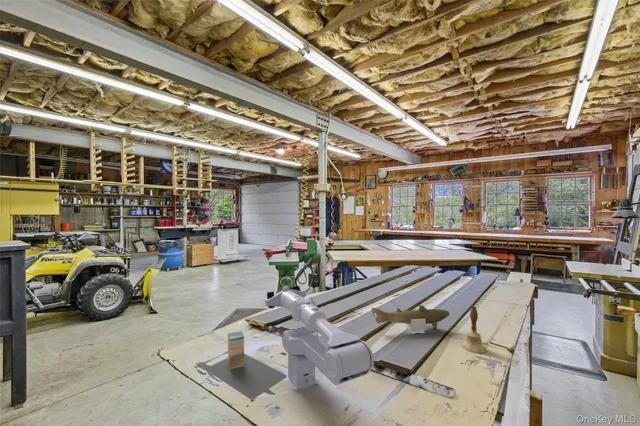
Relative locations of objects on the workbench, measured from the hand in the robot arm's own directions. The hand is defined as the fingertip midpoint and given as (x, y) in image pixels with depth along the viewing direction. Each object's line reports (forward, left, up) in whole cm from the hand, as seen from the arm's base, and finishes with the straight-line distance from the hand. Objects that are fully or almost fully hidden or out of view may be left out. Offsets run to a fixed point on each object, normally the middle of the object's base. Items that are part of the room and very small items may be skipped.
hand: (277, 292), depth 107 cm
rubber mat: (-11, +14, -21) cm, 28 cm away
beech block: (-5, +16, -21) cm, 27 cm away
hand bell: (-30, -68, -22) cm, 77 cm away
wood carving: (-9, -56, -22) cm, 61 cm away
